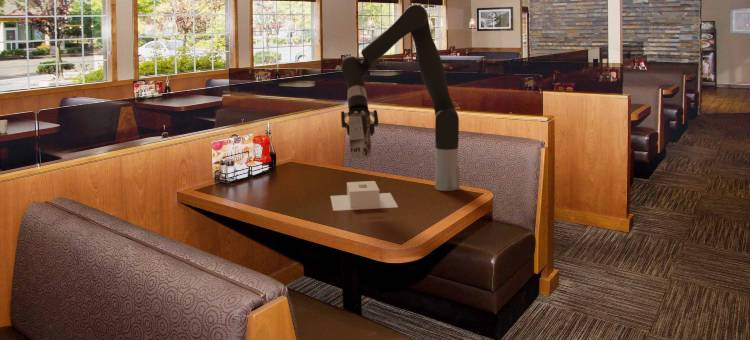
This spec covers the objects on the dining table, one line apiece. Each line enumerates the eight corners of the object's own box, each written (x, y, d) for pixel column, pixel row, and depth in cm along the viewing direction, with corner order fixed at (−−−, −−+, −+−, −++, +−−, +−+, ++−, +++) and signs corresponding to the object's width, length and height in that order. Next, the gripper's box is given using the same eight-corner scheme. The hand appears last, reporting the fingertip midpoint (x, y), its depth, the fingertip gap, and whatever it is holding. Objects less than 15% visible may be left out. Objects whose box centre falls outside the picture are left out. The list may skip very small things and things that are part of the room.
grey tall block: (366, 159, 226) (365, 115, 222) (349, 159, 227) (348, 115, 224) (372, 154, 235) (370, 112, 231) (355, 153, 236) (353, 112, 232)
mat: (390, 194, 246) (390, 192, 246) (398, 208, 227) (398, 207, 227) (330, 197, 243) (330, 195, 243) (333, 212, 224) (333, 210, 224)
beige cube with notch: (375, 195, 242) (374, 180, 241) (379, 205, 229) (379, 190, 227) (347, 197, 241) (346, 182, 240) (350, 207, 228) (349, 191, 226)
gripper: (339, 94, 234) (342, 129, 226) (376, 93, 236) (381, 128, 227) (338, 106, 240) (341, 141, 232) (375, 105, 242) (379, 139, 234)
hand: (361, 134), depth 230 cm, fingers closed on grey tall block, 7 cm apart
